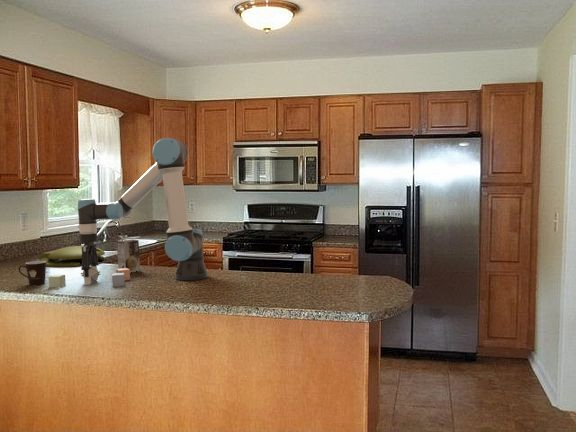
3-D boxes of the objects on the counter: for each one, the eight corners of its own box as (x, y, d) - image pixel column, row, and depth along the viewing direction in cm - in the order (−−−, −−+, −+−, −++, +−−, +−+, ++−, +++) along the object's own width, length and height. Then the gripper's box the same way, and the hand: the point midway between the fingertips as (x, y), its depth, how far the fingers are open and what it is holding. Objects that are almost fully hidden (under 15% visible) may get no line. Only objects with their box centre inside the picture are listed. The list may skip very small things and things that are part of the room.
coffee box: (132, 270, 279) (131, 239, 278) (140, 271, 275) (139, 239, 274) (117, 272, 272) (116, 241, 271) (125, 273, 268) (124, 241, 267)
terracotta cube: (126, 278, 256) (126, 267, 256) (130, 279, 252) (129, 269, 252) (116, 279, 253) (115, 269, 253) (119, 281, 249) (118, 270, 249)
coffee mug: (51, 282, 248) (50, 261, 247) (35, 286, 240) (34, 264, 239) (33, 281, 253) (32, 260, 252) (17, 284, 245) (16, 263, 244)
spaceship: (29, 267, 297) (28, 250, 296) (61, 259, 327) (60, 243, 327) (87, 268, 291) (86, 250, 291) (114, 259, 322) (114, 243, 321)
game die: (93, 291, 244) (92, 276, 237) (77, 284, 245) (75, 269, 239) (105, 278, 250) (104, 263, 244) (89, 272, 252) (87, 256, 245)
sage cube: (65, 285, 241) (65, 274, 241) (59, 287, 236) (59, 276, 236) (55, 285, 242) (54, 274, 242) (49, 287, 237) (48, 276, 237)
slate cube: (124, 283, 243) (123, 272, 243) (124, 285, 238) (123, 274, 238) (112, 284, 241) (112, 273, 241) (112, 286, 237) (112, 275, 236)
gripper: (87, 231, 254) (90, 277, 256) (71, 235, 232) (74, 287, 234) (103, 230, 254) (106, 277, 256) (89, 235, 233) (92, 286, 234)
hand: (91, 281), depth 245 cm, fingers closed on game die, 9 cm apart
